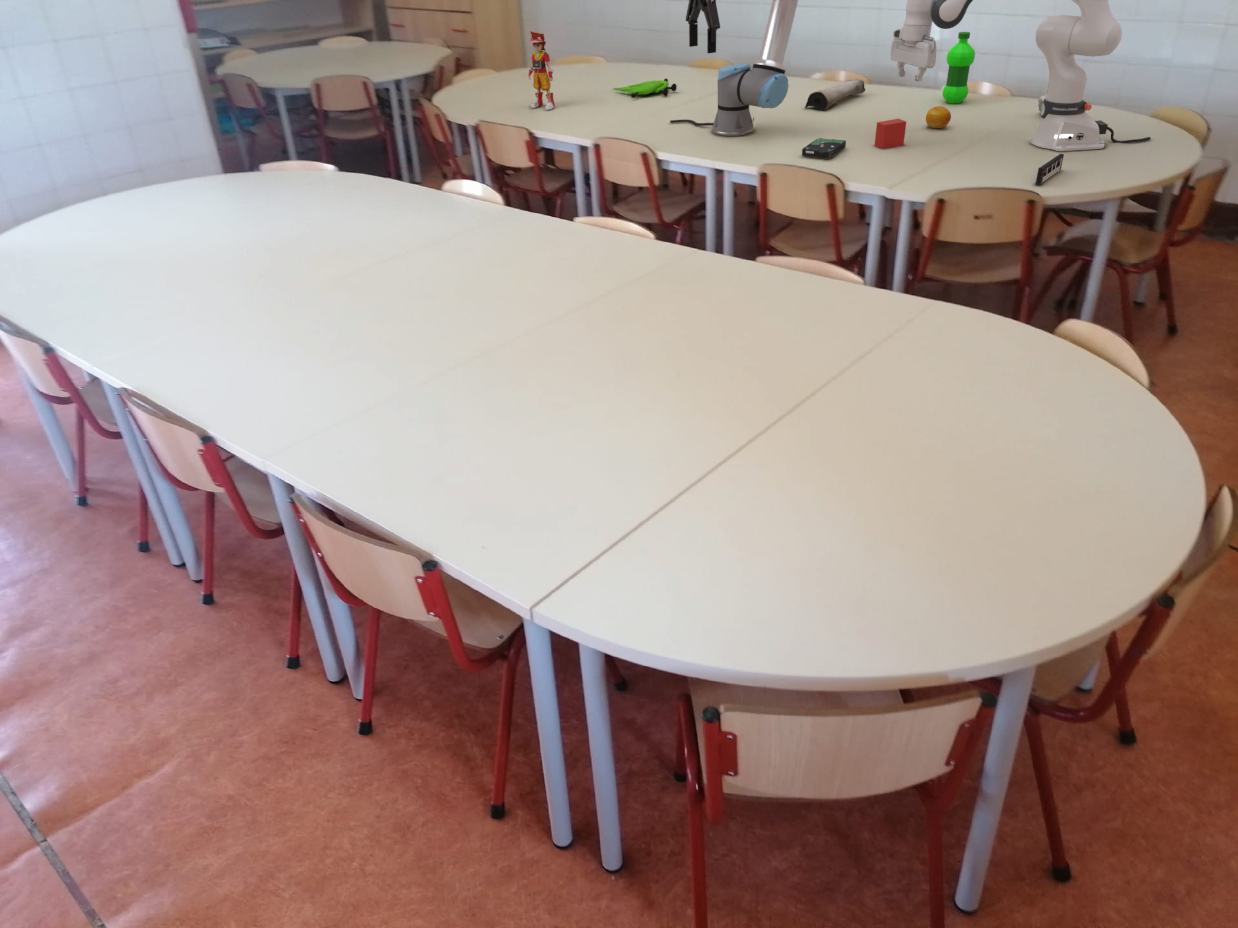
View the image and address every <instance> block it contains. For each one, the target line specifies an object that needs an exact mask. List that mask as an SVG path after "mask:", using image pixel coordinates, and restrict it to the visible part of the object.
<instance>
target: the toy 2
mask: <svg viewBox="0 0 1238 928" xmlns="http://www.w3.org/2000/svg"><path fill="white" fill-rule="evenodd" d="M669 85H670V83H669V79H668V78H664V79H663V80H649V81H644V82H640V83H634V84H629V85H627V86H621V87H613V88H612V89H613V90H616V91H619V92H623V93H627V94H628V93H629V94H631V95H630V96H631V98H632V99H634V98H636V96H637V95H650V94H652V93H654V94H658V93H662V95H663V96H665V97H667V96H668V95H669V90H671V91H672V92H676V91H677V84H676V83H672V84H671V86H669Z"/></svg>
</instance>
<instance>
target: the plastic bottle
mask: <svg viewBox="0 0 1238 928" xmlns="http://www.w3.org/2000/svg"><path fill="white" fill-rule="evenodd" d="M970 36H971V32H970V31H959V32H958V36H957V39H958V42H957V43H956V44H954V45H953V46H952V47H951V48H950V49H949V50H948V52H947V54H946V63H947V64H948V69H947V70H948V71H947V76H946V77H947V78H946V84H945V85H944V87H943V90H942V97H943V99H944V100H945V101H946V102H947V103H948V104H960V103H961V102H963V101H964V100H966V98H967V96H968V95H969V85H968V79H969V73H970V67H971V65H972V64H973V63H974V61H975V57H976V51H975V49H974V47H972V45H971V44H970V43H969V42H968V41H969V39H970V38H971V37H970Z"/></svg>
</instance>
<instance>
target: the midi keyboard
mask: <svg viewBox="0 0 1238 928" xmlns="http://www.w3.org/2000/svg"><path fill="white" fill-rule="evenodd" d="M1064 157H1065V153H1059V154H1058V155H1056V156H1055V157H1052V159H1051V160H1049V161H1047V162H1045V164H1042V165H1041V166H1039V167H1038V169H1037V175H1036V179H1035V186H1040V185H1042V183H1044V182H1045V181H1047V180H1048V179H1049V178H1051V177H1052V176H1054V175H1055V174H1056V173H1058V172H1060V171H1061V170H1062V165H1063V161H1064Z"/></svg>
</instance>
